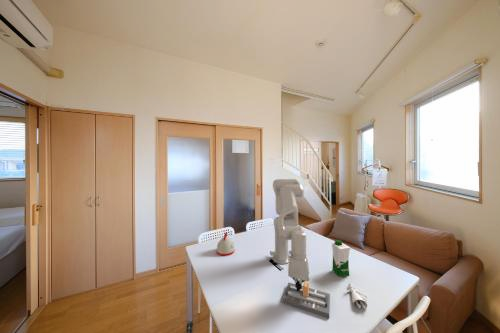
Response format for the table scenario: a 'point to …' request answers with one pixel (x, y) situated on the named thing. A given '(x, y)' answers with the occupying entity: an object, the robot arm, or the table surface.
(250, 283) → the table surface
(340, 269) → the milk carton
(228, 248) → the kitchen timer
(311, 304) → the console
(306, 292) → the fader
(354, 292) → the woman figurine
